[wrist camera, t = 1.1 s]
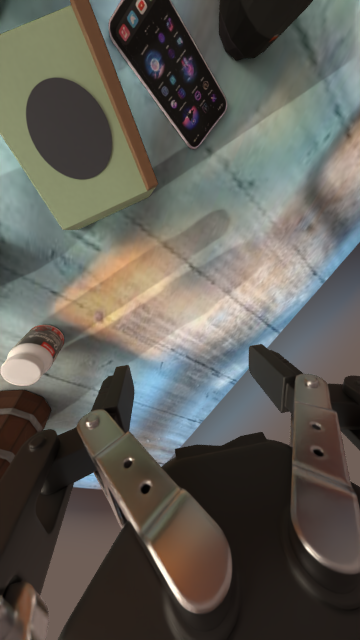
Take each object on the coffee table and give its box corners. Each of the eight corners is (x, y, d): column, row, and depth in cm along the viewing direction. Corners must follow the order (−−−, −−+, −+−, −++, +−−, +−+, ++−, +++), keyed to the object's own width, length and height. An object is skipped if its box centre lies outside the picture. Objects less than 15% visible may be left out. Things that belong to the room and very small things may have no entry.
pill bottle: (70, 331, 36) (52, 364, 27) (57, 355, 37) (36, 393, 28) (35, 318, 33) (4, 349, 25) (23, 343, 35) (-11, 382, 26)
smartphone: (146, -42, 20) (230, 105, 27) (146, -36, 21) (228, 107, 28) (104, 28, 22) (194, 152, 29) (104, 32, 22) (193, 153, 29)
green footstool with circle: (78, 229, 30) (58, 230, 21) (4, 109, 23) (-72, 35, 14) (148, 196, 30) (158, 184, 21) (96, 69, 23) (79, -26, 15)
